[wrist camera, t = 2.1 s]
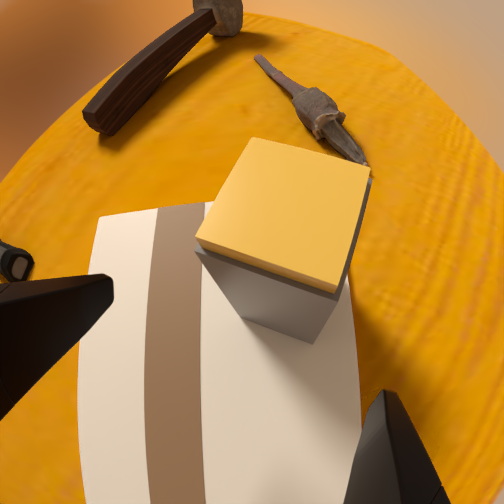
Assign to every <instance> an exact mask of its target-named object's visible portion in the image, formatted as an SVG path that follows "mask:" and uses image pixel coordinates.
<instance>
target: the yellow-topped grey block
mask: <svg viewBox="0 0 504 504" xmlns="http://www.w3.org/2000/svg"><path fill="white" fill-rule="evenodd" d="M370 169H371V168H370V167H367V166H364V165H361V164H357V163H354V162H351V161H347V160H344V159H340V158H337V157H333V156H330V155H326V154H323V153H319V152H315V151H311V150H307V149H303V148H299V147H295V146H291V145H287V144H283V143H278V142H274V141H269V140H265V139H260V138H255V137H252V138H251V139H250V141H249V143H248V144H247V146H246V147H245V149H244V151H243V152H242V154H241V156H240V158H239V159H238V161H237V163H236V164H235V166H234V168H233V169H232V171H231V173H230V174H229V176H228V178H227V180H226V181H225V183H224V185H223V187H222V188H221V190H220V192H219V194H218V195H217V197H216V199H215V201H214V202H213V204H212V206H211V208H210V210H209V211H208V213H207V215H206V217H205V219H204V220H203V222H202V224H201V226H200V228H199V230H198V231H197V233H196V235H195V238H196V239H197V241H198V244H197V245H196V247H195V249H194V252H195V253H196V255H197V256H198V258H199V259H200V261H201V262H202V264H203V265H204V267H205V268H206V269H207V271H208V272H209V274H210V275H211V277H212V278H213V280H214V281H215V282H216V284H217V285H218V287H219V288H220V290H221V291H222V293H223V294H224V295H225V297H226V298H227V300H228V301H229V302H230V304H231V305H232V307H233V308H234V310H235V311H236V312H237V314H238V315H239V317H241V318H243V319H246V320H248V321H251V322H253V323H256V324H258V325H261V326H264V327H266V328H269V329H271V330H274V331H277V332H279V333H282V334H285V335H287V336H290V337H293V338H296V339H298V340H301V341H304V342H307V343H309V344H312V345H313V343H314V342H315V340H316V339H317V337H318V335H319V334H320V332H321V330H322V329H323V327H324V325H325V324H326V322H327V320H328V319H329V317H330V315H331V314H332V312H333V310H334V308H335V307H336V305H337V303H338V301H339V298H340V295H341V292H342V289H343V286H344V283H345V279H346V276H347V273H348V270H349V266H350V263H351V260H352V256H353V253H354V249H355V246H356V242H357V239H358V235H359V231H360V228H361V224H362V220H363V216H364V212H365V208H366V204H367V200H368V196H369V192H370V188H371V183H372V179H371V178H368V177H369V173H370Z"/></svg>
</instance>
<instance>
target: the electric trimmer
mask: <svg viewBox="0 0 504 504" xmlns="http://www.w3.org/2000/svg"><path fill="white" fill-rule="evenodd" d="M33 264H34V261H33V258H32V256H31V255H30V254H29V253H28V252H27V251H25V250H23V249H20V248H16V247H14V246H11V245H9V244H6V243H4V242H2V241H1V239H0V273H1V274H2V275H3V276H4V277H5V278H6V279H7V280H8V281H9V282H10V283H13V282H23V281H26V280H27V277H28V275H29V273H30V270H31V268H32V266H33Z"/></svg>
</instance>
